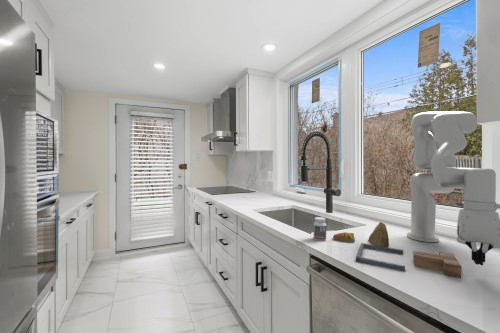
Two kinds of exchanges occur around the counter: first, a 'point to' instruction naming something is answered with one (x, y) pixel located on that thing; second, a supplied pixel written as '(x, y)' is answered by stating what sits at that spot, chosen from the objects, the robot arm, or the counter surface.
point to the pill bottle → (320, 229)
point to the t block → (438, 262)
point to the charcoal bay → (377, 262)
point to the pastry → (345, 237)
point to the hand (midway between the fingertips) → (478, 263)
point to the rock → (379, 236)
